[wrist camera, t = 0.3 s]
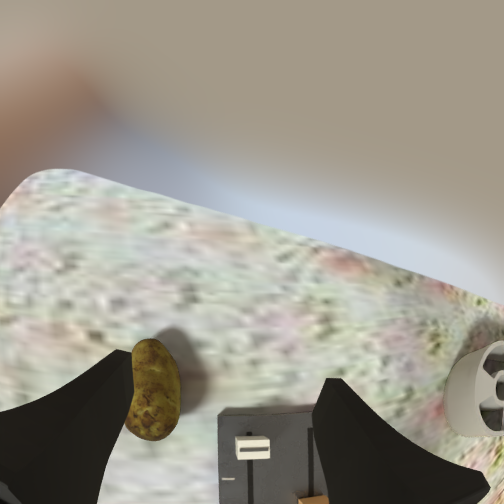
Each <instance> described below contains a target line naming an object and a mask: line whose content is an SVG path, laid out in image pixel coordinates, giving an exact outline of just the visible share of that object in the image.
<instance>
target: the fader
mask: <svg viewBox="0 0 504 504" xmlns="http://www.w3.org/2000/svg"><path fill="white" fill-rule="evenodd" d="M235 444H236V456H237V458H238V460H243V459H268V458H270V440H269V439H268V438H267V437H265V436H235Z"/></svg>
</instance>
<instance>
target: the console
mask: <svg viewBox="0 0 504 504" xmlns="http://www.w3.org/2000/svg"><path fill="white" fill-rule="evenodd" d="M311 414H312V412H302V413H289V414H272V415H218V472H219V502H220V504H298V499H302V498H309V497H315V496H321V495H325V496H327V497H328V491H327V485H326V481H325V477H324V473H323V469H322V466H321V462H320V458H319V454H318V451H317V447H316V443H315V439H314V433H313V425H312V415H311ZM235 436H265V437H267V438H268V439H269V440H270V458H268V459H243V460H238V458H237V456H236V444H235Z"/></svg>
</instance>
